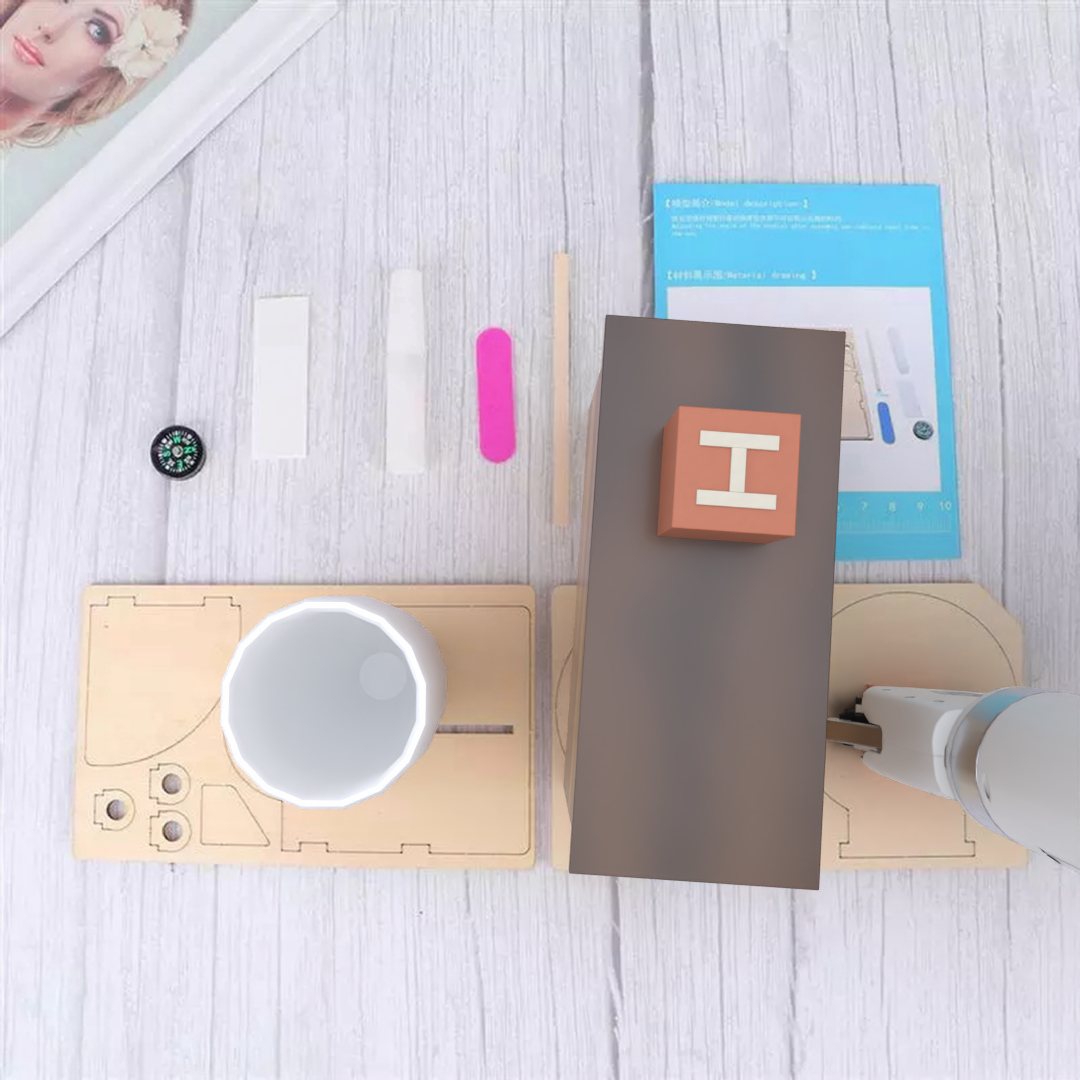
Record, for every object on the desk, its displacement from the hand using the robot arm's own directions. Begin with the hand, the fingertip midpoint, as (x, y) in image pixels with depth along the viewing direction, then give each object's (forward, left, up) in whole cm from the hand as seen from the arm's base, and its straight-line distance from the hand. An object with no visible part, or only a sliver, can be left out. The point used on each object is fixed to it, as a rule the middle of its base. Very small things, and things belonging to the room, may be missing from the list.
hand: (894, 722), depth 65 cm
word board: (+17, -7, +22) cm, 28 cm away
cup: (+34, -1, -1) cm, 34 cm away
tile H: (+17, -12, +22) cm, 30 cm away
